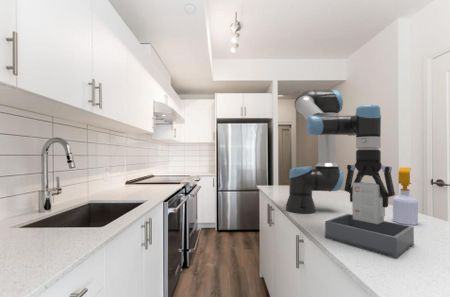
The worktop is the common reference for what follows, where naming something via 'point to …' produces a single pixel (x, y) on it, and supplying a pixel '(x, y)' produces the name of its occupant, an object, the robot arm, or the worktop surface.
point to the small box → (367, 202)
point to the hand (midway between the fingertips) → (368, 213)
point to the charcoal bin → (371, 235)
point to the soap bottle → (405, 201)
